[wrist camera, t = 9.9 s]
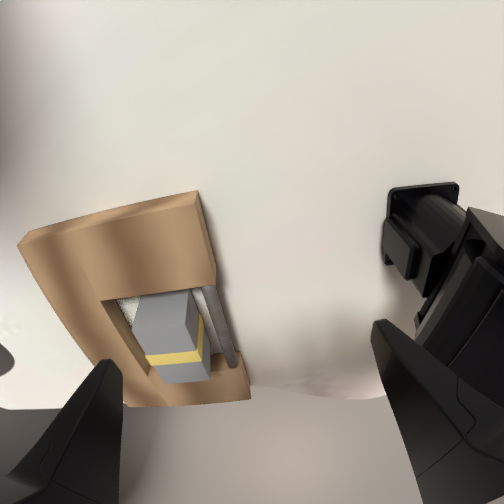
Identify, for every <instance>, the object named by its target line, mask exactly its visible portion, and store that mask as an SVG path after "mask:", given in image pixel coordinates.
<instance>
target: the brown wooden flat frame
mask: <svg viewBox="0 0 504 504" xmlns="http://www.w3.org/2000/svg"><path fill="white" fill-rule="evenodd" d="M17 247H18V249H19V251H20V253H21V255H22V256H23V258H24V260H25V262H26V264H27V266H28V268H29V269H30V271H31V273H32V275H33V277H34V278H35V280H36V282H37V284H38V285H39V287H40V289H41V290H42V292H43V294H44V295H45V297H46V298H47V300H48V302H49V303H50V305H51V306H52V308H53V310H54V311H55V313H56V314H57V316H58V317H59V319H60V320H61V322H62V323H63V325H64V326H65V328H66V329H67V330H68V332H69V333H70V335H71V336H72V337H73V339H74V340H75V342H76V343H77V344H78V346H79V347H80V348H81V350H82V351H83V352H84V354H85V355H86V356H87V358H88V359H89V360H90V362H91V363H92V364H93V365H94V367H95V366H96V365H97V364H98V362H99V361H100V360H102V359H112V360H113V361H114V362H115V364H116V365H117V366H118V368H119V369H120V370H121V372H122V374H123V401H124V402H125V403H126V404H127V405H128V406H129V407H160V406H182V405H197V404H198V405H199V404H211V403H221V402H231V401H240V400H248V399H251V394H250V383H249V380H248V377H247V374H246V370H245V367H244V363H243V360H242V357H241V353H240V351H238V352H235V350H234V347H233V344H232V340H231V337H230V334H229V330H228V327H227V324H226V321H225V317H224V314H223V310H222V307H221V304H220V300H219V297H218V293H217V290H216V286H215V284H216V263H215V259H214V255H213V251H212V247H211V244H210V240H209V236H208V232H207V228H206V224H205V220H204V216H203V212H202V208H201V204H200V199H199V195H198V191H197V190H196V191H191V192H186V193H181V194H176V195H171V196H167V197H162V198H157V199H153V200H148V201H144V202H139V203H135V204H130V205H126V206H122V207H118V208H114V209H110V210H106V211H102V212H98V213H94V214H90V215H86V216H82V217H78V218H75V219H71V220H67V221H64V222H60V223H57V224H53V225H50V226H46V227H43V228H39V229H36V230H33V231H29V232H28V233H27V234H26V235H25V237H24V238H23V239H22V240H21V241H20V242H19V244H18V245H17ZM195 287H201V289H202V292H203V295H204V298H205V301H206V304H207V307H208V310H209V313H210V316H211V319H212V322H213V325H214V328H215V331H216V334H217V337H218V340H219V342H220V345H221V348H222V351H223V354H215V355H210V380H207V381H196V382H185V383H171V384H165V383H164V382H163V380H162V379H161V377H160V376H159V374H158V373H157V371H156V369H155V368H154V366H151V365H150V363H149V362H148V360H147V359H146V357H145V355H146V354H145V352H144V351H143V349H142V347H141V346H140V344H139V342H138V341H137V339H136V337H135V336H134V334H133V332H132V331H131V330H132V329H131V328H130V326H129V324H128V322H127V321H126V319H125V317H124V315H123V313H122V312H121V310H120V308H119V306H118V304H117V302H116V301H115V299H118V298H125V297H132V296H140V295H147V294H154V293H161V292H168V291H175V290H181V289H188V288H195Z"/></svg>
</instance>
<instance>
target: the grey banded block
mask: <svg viewBox="0 0 504 504" xmlns="http://www.w3.org/2000/svg"><path fill="white" fill-rule="evenodd" d="M203 325H204V323H203V320H202V317H201V314H200V313H199V312H198V310H197V307H196V304H195V301H194V299H193V296H192V293H191V290H190V288H188V289H181V290H175V291H168V292H161V293H154V294H147V295H141V297H140V301H139V304H138V308H137V312H136V315H135V319H134V323H133V327H132V330H131V331H132V332H133V334H134V336H135V337H136V339H137V341H138V342H139V344H140V346H141V347H142V349H143V351H144V352H145V354H146V355H145V357H146V359H147V360H148V362H149V363H150V365H151V366H154V368H155V369H156V371H157V373H158V374H159V376H160V377H161V379H162V380H163V382H164V383H165V384H171V383H185V382H196V381H207V380H210V349H211V344H210V341H209V339H208V336H207V334H206V331H205V328H204V326H203Z"/></svg>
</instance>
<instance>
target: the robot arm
mask: <svg viewBox="0 0 504 504" xmlns="http://www.w3.org/2000/svg"><path fill="white" fill-rule="evenodd" d="M453 188H454V189H453ZM396 193H397V196H396V197H394V195H395V194H396ZM458 195H459V185H458V184H456V183H455V182H445V183H434V184H424V185H415V186H405V187H396V188H392V189H391V190H390V191H389V194H388V207H387V217H386V219H385V223H384V234H383V245H382V248H383V249H384V251H383V261H384V263H385V264H386V265H395V266H396V267H397V269H398V270H399V272H400V273H401V275H402V276H403V278H404V279H406V280H407V281H408V280H411V281H412V282H413V284H414V285H415V287H416V288H417V290H418V291H419V293H420V294H421V296H422V297H423V298H426V297H427V299H426V301H425V303H424V305H423V306H422V308H421V310H420V312H418V313H417V314H416V316H415V318H414V321H415V326H416V335H415V341H414V340H412V339H411V338H410V337H409V336H407V335H406V334H405V333H404V332H402V331H401V330H400V329H399V328H397V327H396V326H395V325H393V324H392V323H391V322H390V321H388V320H387V319H380V320H376V321H374V323H373V327H372V332H371V344H372V348H373V351H374V355H375V359H376V362H377V366H378V370H379V374H380V377H381V381H382V384H383V387H384V389H385V392H386V394H387V397H388V400H389V402H390V405H391V408H392V410H393V413H394V416H395V418H396V421H397V424H398V426H399V429H400V432H401V435H402V438H403V441H404V444H405V447H406V450H407V453H408V455H409V459H410V461H411V465H412V468H413V471H414V474H415V477H416V481H417V484H418V487H419V491H420V494H421V498H422V501H423V504H504V216H501V215H498V214H494V213H491V212H487V211H483V210H480V209H476V208H472V207H468V209H467V211H465V210H464V209H463V208H461V207H460V206H459V205H458V204H457V201H458ZM389 258H390V259H389ZM388 259H389V260H388ZM122 422H123V374H122V372H121V370H120V369H119V368H118V366H117V365H116V364H115V362H114V361H113V360H112V359H102V360H100V361H99V362H98V364H97V365H96V366H95V367H94V369H93V370H92V371H91V372H90V374H89V375H88V376H87V377H86V379H85V380H84V381H83V382H82V384H81V385H80V386H79V387H78V389H77V390H76V391H75V392H74V394H73V395H72V396H71V398H70V399H69V400H68V401H67V403H66V404H65V405H64V407H63V408H62V409H61V411H60V412H59V413H58V414H57V416H56V417H55V418H54V420H53V421H52V423H51V424H50V425H49V428H47V429H46V430H45V432H44V433H43V434H42V436H41V437H40V438H39V440H38V441H37V442H36V443H35V444H34V446H33V447H32V448H31V449H30V450H29V451H28V453H27V454H26V455H25V456H24V457H23V458H22V459H21V460H20V462H19V463H18V464H17V465H16V466H15V467H14V469H12V470H11V471H10V472H9V473H7V474H5V475H3V476H0V504H119V470H120V450H121V435H122Z"/></svg>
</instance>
